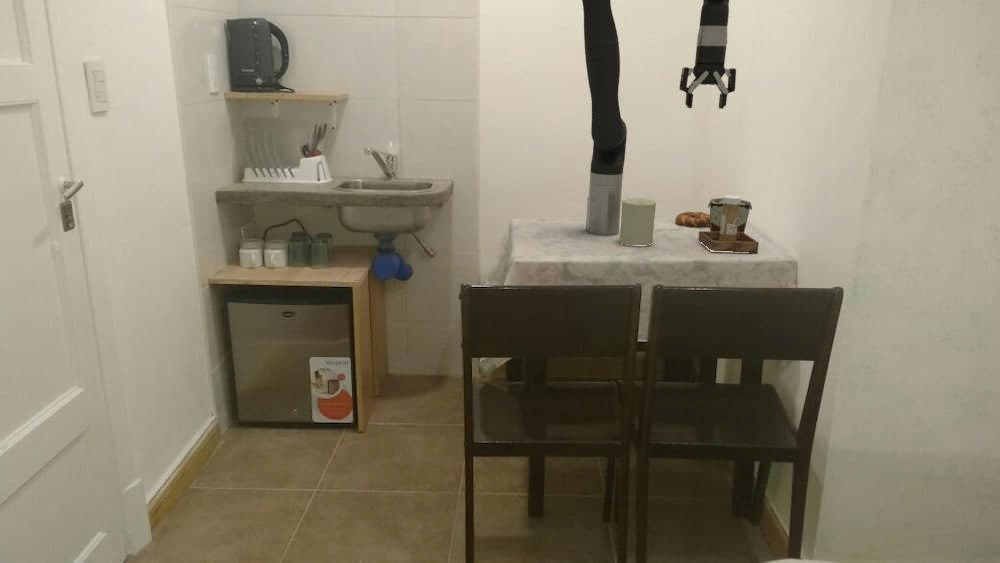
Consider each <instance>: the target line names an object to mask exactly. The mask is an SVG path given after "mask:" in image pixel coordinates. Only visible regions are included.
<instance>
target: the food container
mask: <svg viewBox="0 0 1000 563" xmlns="http://www.w3.org/2000/svg"><path fill="white" fill-rule="evenodd" d="M707 208H708V209H709V215H710V227H709V231H712V232H720V225H721V216H722V210H723V197H721V198H719V197H718V198H712V199H710V201H709V202H708V206H707ZM750 210H751V211H752V210H753V207H752V202H751V201H748V200H745V199H741V203H740V206H739V215H738V226H737V232H743V233H745V231H746V227H747V222H748V219H749V214H750Z"/></svg>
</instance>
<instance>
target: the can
mask: <svg viewBox="0 0 1000 563" xmlns="http://www.w3.org/2000/svg"><path fill="white" fill-rule="evenodd" d="M656 206H657V202H656V201H655V200H652V199H647V198H625V199H621V215H620V229H619V241H618V242H620V243H619V244H621V243H623V244H628V245H649V244H652V243H653V244H654V240H653V239H654V227H655V217H656V216H655V215H656ZM623 244H622V245H623Z"/></svg>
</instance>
